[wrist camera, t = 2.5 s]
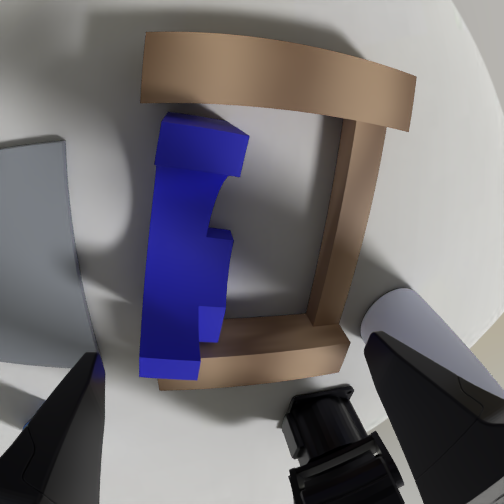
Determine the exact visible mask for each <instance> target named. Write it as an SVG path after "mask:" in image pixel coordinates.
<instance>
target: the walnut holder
mask: <svg viewBox="0 0 504 504" xmlns="http://www.w3.org/2000/svg"><path fill="white" fill-rule="evenodd" d="M415 86H416V76H414V75H411V74H408V73H405V72H403V71H400V70H397V69H394V68H391V67H388V66H385V65H382V64H378V63H375V62H372V61H368V60H365V59H361V58H358V57H354V56H350V55H347V54H343V53H339V52H335V51H330V50H326V49H322V48H317V47H312V46H307V45H302V44H297V43H291V42H286V41H280V40H273V39H266V38H259V37H251V36H242V35H231V34H219V33H202V32H146V36H145V46H144V57H143V69H142V82H141V100H140V103H202V104H225V105H241V106H253V107H264V108H274V109H283V110H292V111H300V112H307V113H314V114H321V115H327V116H333V117H339V118H343V125H342V131H341V138H340V144H339V151H338V157H337V163H336V169H335V175H334V181H333V186H332V192H331V198H330V203H329V208H328V214H327V219H326V224H325V229H324V234H323V239H322V244H321V249H320V253H319V258H318V263H317V267H316V272H315V276H314V281H313V285H312V290H311V294H310V298H309V303H308V307H307V311H306V313H305V314H294V315H281V316H267V317H252V318H235V319H223V323H222V327H221V331H220V336H219V340H218V343H214V342H199V347H200V357H201V364H200V369H199V374H198V380H177V379H160V378H157V379H158V385H159V390H160V391H166V390H192V389H210V388H223V387H235V386H246V385H256V384H264V383H273V382H281V381H288V380H295V379H302V378H308V377H314V376H320V375H326V374H332V373H337V372H339V371H340V368H341V366H342V363H343V361H344V358H345V356H346V353H347V351H348V348H349V346H350V343H351V342H350V341H349V339H348V338H347V336H346V334H345V333H344V331H343V330H342V328H341V327H340V325H339V322H340V319H341V315H342V312H343V309H344V306H345V303H346V299H347V296H348V293H349V289H350V286H351V282H352V279H353V275H354V272H355V268H356V265H357V261H358V257H359V253H360V250H361V246H362V242H363V238H364V234H365V230H366V226H367V222H368V218H369V213H370V209H371V205H372V200H373V196H374V191H375V186H376V181H377V177H378V172H379V167H380V161H381V156H382V151H383V145H384V139H385V134H386V128H387V127H389V128H394V129H398V130H402V131H406V132H409V127H410V121H411V114H412V108H413V101H414V93H415Z"/></svg>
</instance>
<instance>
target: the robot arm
mask: <svg viewBox="0 0 504 504" xmlns="http://www.w3.org/2000/svg"><path fill="white" fill-rule="evenodd" d="M364 355H365V358H366V361H367V364H368V367H369V370H370V373H371V376H372V379H373V382H374V385H375V388H376V390H377V393H378V395H379V397H380V399H381V402H382V404H383V406H384V408H385V411H386V413H387V415H388V417H389V419H390V422H391V424H392V427H393V429H394V431H395V434H396V436H397V438H398V440H399V443H400V445H401V448H402V450H403V452H404V454H405V457H406V460H407V462H408V464H409V467H410V469H411V472H412V474H413V477H414V479H415V482H416V484H417V487H418V489H419V492H420V495H421V497H422V500H423V503H424V504H504V399H503V398H500V397H498V396H496V395H494V394H492V393H490V392H488V391H486V390H484V389H482V388H480V387H478V386H476V385H474V384H472V383H470V382H469V381H467V380H465V379H463V378H462V377H460V376H457V375H456V374H455V373H453V372H451V371H450V370H448V369H446V368H445V367H443V366H441V365H439V364H438V363H436V362H434V361H433V360H431V359H429V358H428V357H426V356H424V355H422V354H421V353H419V352H417V351H416V350H414V349H412V348H411V347H409V346H407V345H405V344H404V343H402V342H400V341H399V340H397V339H395V338H394V337H392V336H390V335H388V334H387V333H385V332H383V331H376V332H372V333H371V334H370V336H369V338H368V341H367V343H366V346H365V348H364ZM353 392H354V389H353V388H352V386H349V387H344V388H339V389H334V390H329V391H324V392H319V393H313V394H308V395H302V396H297V397H294V398H293V399H292V400H291V403H290V406H289V409H288V412H287V414H286V415H285V418H284V421H283V424H282V432H283V433H284V436H285V439H286V442H287V445H288V448H289V451H290V454H291V456H292V458H293V459H298V461H299V463H300V467H298V468H292V469H290V470H289V472H290V476H288V477H289V480H290V483H291V487H292V492H293V499H294V504H404V500H403V498H402V496H401V494H400V492H399V490H398V488H399V487H402V486H403V485H404V482H403V479H402V477H401V475H400V472H399V470H398V468H397V466H396V464H395V463H394V461H393V459H392V457H391V456H390V454H389V452H388V450H387V449H386V447H385V445H384V444H383V442H382V440H381V439H380V437H379V435H378V433H377V432H376V431H374V432H373V433H371V435H369V436H368V435H367V433H366V431H365V429H364V427H363V425H362V423H361V421H360V419H359V418H358V416H357V414H356V412H355V410H354V408H353V406H352V404H351V402H350V398H351V396H352V394H353ZM104 423H105V370H104V367H103V364H102V360H101V357H100V354H99V353H98V352H85V353H84V354H83V356H82V357H81V358H80V359H79V360H78V362H77V363H76V364H75V365H74V366H73V368H72V369H71V370H70V371H69V372H68V374H67V375H66V376H65V377H64V379H63V380H62V381H61V382H60V384H59V385H58V386H57V387H56V388H55V390H54V391H53V392H52V393H51V395H50V396H49V397H48V399H47V400H46V401H45V402H44V404H43V405H42V406H41V407H40V409H39V410H38V411H37V413H36V414H35V415H34V416H33V418H32V419H31V420H30V422H29V423H28V426H26V427H25V428H24V429H23V431H22V432H21V433H20V435H19V436H18V437H17V438H16V440H15V441H14V442H13V444H12V445H11V446H10V447H9V448H8V449H7V450H6V452H5V453H4V454H3V455H2V456H1V457H0V504H99V494H100V472H101V457H102V444H103V433H104ZM376 452H377V453H378V455H376V456H374V455H373V454H374V453H376Z"/></svg>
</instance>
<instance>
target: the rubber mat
mask: <svg viewBox="0 0 504 504" xmlns="http://www.w3.org/2000/svg"><path fill="white" fill-rule="evenodd" d="M85 352H98V353H99V354H100V352H99V349H98V346H97V342H96V338H95V335H94V331H93V327H92V323H91V319H90V315H89V311H88V307H87V303H86V298H85V294H84V289H83V284H82V279H81V274H80V269H79V264H78V258H77V252H76V246H75V240H74V233H73V226H72V218H71V210H70V201H69V191H68V179H67V164H66V143H65V140H63V141H53V142H44V143H36V144H28V145H20V146H14V147H7V148H1V149H0V362H7V363H15V364H24V365H35V366H46V367H59V368H73V366H74V365H75V364H76V363H77V362H78V360H79V359H80V358H81V357H82V356H83V354H84V353H85ZM100 357H101V356H100ZM101 360H102V359H101ZM102 364H103V362H102Z"/></svg>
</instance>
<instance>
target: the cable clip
mask: <svg viewBox="0 0 504 504" xmlns="http://www.w3.org/2000/svg"><path fill="white" fill-rule="evenodd" d="M248 140H249V135H247V134H246V133H244V132H243V131H241V130H239V129H238V128H236V127H235V126H233V125H232V124H230V123H229V122H227V121H224V120H218V119H213V118H207V117H201V116H195V115H188V114H182V113H175V112H168V113H167V114H166V116H165V117H164V119H163V120H162V122H161V127H160V133H159V139H158V145H157V151H156V157H155V163H154V165H156V175H155V185H154V194H153V203H152V212H151V221H150V230H149V240H148V250H147V260H146V271H145V283H144V295H143V308H142V322H141V338H140V354H139V377H146V378H160V379H177V380H198V374H199V369H200V364H201V357H200V347H199V342H214V343H218V340H219V336H220V331H221V327H222V323H223V318H224V314H225V310H226V294H227V281H228V271H229V264H230V258H231V252H232V247H233V242H234V240H233V237H232V234H231V231H230V230H225V229H216V228H208V226H209V222H210V218H211V214H212V210H213V207H214V204H215V201H216V198H217V195H218V193H219V190H220V188H221V186H222V184H223V182H224V181H225V179H226V178H227V177H228V176H235V177H240V174H241V170H242V166H243V161H244V157H245V153H246V149H247V144H248Z"/></svg>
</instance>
